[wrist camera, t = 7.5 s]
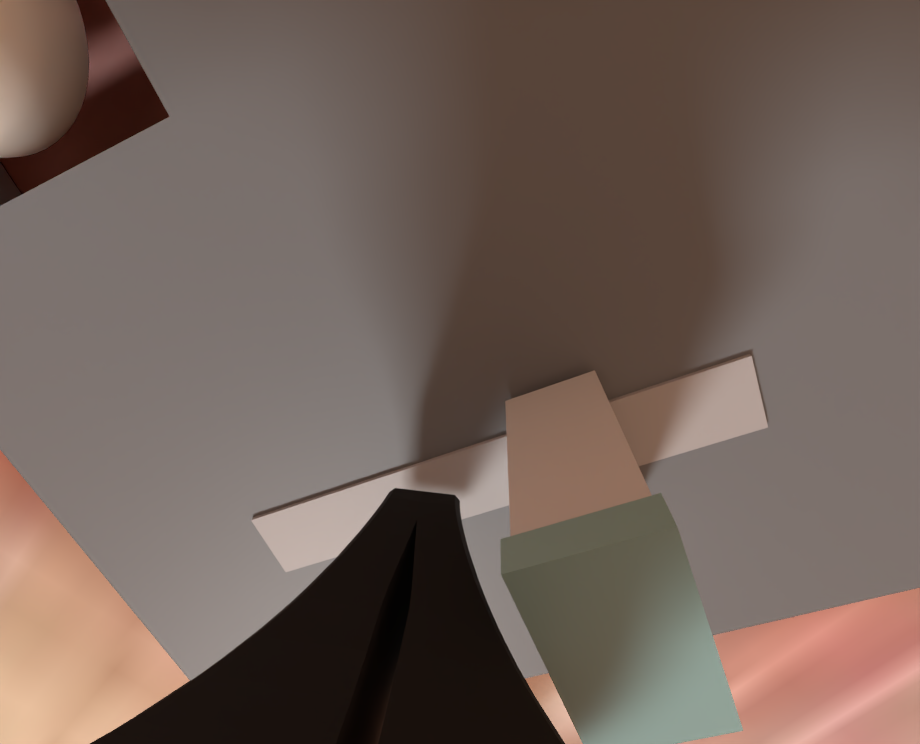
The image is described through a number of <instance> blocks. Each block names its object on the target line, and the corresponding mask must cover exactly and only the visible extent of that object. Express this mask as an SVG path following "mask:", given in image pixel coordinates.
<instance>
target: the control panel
mask: <svg viewBox="0 0 920 744" xmlns="http://www.w3.org/2000/svg"><path fill="white" fill-rule="evenodd" d="M105 1H106V2H107V4H108V6H109V8H110V10H111V11H112V13H113V15H114V17H115V19H116V20H117V22H118V24H119V26H120V28H121V30H122V31H123V33H124V35H125V37H126V39H127V40H128V42H129V44H130V46H131V48H132V49H133V51H134V53H135V55H136V57H137V59H138V60H139V62H140V64H141V66H142V68H143V69H144V71H145V73H146V75H147V77H148V78H149V80H150V82H151V84H152V86H153V88H154V89H155V91H156V93H157V95H158V97H159V98H160V100H161V102H162V104H163V106H164V107H165V109H166V111H167V113H168V115H169V117H168V118H166V119H164V120H162V121H160V122H158V123H156V124H155V125H153V126H151V127H149V128H147V129H145V130H143V131H141V132H139V133H137V134H136V135H134V136H132V137H130V138H128V139H126V140H124V141H122V142H120V143H119V144H117V145H115V146H113V147H111V148H109V149H107V150H105V151H103V152H101V153H100V154H98V155H96V156H94V157H92V158H90V159H88V160H86V161H84V162H82V163H81V164H79V165H77V166H75V167H73V168H71V169H69V170H67V171H65V172H64V173H62V174H60V175H58V176H56V177H54V178H52V179H50V180H48V181H46V182H45V183H43V184H41V185H39V186H37V187H35V188H33V189H31V190H29V191H27V192H26V193H24V194H21V193H20V191H19V190H18V188H17V187H16V185H15V184H14V182H13V181H12V179H11V178H10V176H9V175H8V173H7V172H6V170H5V169H4V167H3V166H2V164H1V163H0V450H1V451H2V452H3V454H4V455H5V456H6V457H7V458H8V460H9V461H10V462H11V463H12V465H13V466H14V467H15V468H16V469H17V471H18V472H19V473H20V474H21V475H22V477H23V478H24V479H25V480H26V482H27V483H28V484H29V485H30V486H31V488H32V489H33V490H34V491H35V492H36V494H37V495H38V496H39V497H40V499H41V500H42V501H43V502H44V503H45V505H46V506H47V507H48V508H49V510H50V511H51V512H52V513H53V514H54V516H55V517H56V518H57V519H58V520H59V522H60V523H61V524H62V525H63V527H64V528H65V529H66V530H67V531H68V533H69V534H70V535H71V536H72V538H73V539H74V540H75V541H76V542H77V544H78V545H79V546H80V547H81V548H82V550H83V551H84V552H85V553H86V555H87V556H88V557H89V558H90V559H91V561H92V562H93V563H94V564H95V566H96V567H97V568H98V569H99V570H100V572H101V573H102V574H103V575H104V576H105V578H106V579H107V580H108V581H109V583H110V584H111V585H112V586H113V587H114V589H115V590H116V591H117V592H118V593H119V595H120V596H121V597H122V598H123V600H124V601H125V602H126V603H127V604H128V606H129V607H130V608H131V609H132V611H133V612H134V613H135V614H136V615H137V617H138V618H139V619H140V620H141V621H142V623H143V624H144V625H145V626H146V628H147V629H148V630H149V631H150V632H151V634H152V635H153V636H154V637H155V639H156V640H157V641H158V642H159V643H160V645H161V646H162V647H163V648H164V649H165V651H166V652H167V653H168V654H169V656H170V657H171V658H172V659H173V660H174V662H175V663H176V664H177V665H178V667H179V668H180V669H181V670H182V671H183V673H184V674H185V675H186V676H187V677H188V679H189V680H190V681H191V680H192V679H194V678H195V677H197V676H198V675H199V674H201V673H202V672H204V671H205V670H207V669H208V668H209V667H211V666H212V665H213V664H215V663H216V662H218V661H219V660H220V659H222V658H223V657H224V656H226V655H227V654H228V653H229V652H231V651H232V650H233V649H235V648H236V647H237V646H239V645H240V644H241V643H242V642H244V641H245V640H246V639H248V638H249V637H250V636H251V635H253V634H254V633H255V632H257V631H258V630H259V629H260V628H262V627H263V626H264V625H265V624H266V623H267V622H269V621H270V620H271V619H272V618H273V617H275V616H276V615H277V614H278V613H279V612H280V611H282V610H283V609H284V608H285V607H286V606H287V605H288V604H289V603H291V602H292V601H293V600H294V599H295V598H296V597H297V596H298V595H299V594H300V593H301V592H302V591H304V590H305V589H306V588H307V587H308V586H309V585H310V584H311V583H312V582H313V581H314V580H315V579H316V578H317V577H318V576H319V575H320V574H321V573H322V572H323V571H324V570H325V569H326V568H327V567H328V566H329V565H330V564H331V563H332V562H333V561H334V560H335V558H336V557H337V556H338V555H339V554H340V553H341V552H342V551H343V550H344V548H345V547H346V546H347V545H348V544H349V543H350V542H351V541H352V539H353V538H354V537H355V536H356V535H357V534H358V533H359V531H360V530H361V529H362V528H363V527H364V525H365V524H366V523H367V522H368V520H369V519H370V518H371V517H372V515H373V514H374V513H375V512H376V510H377V509H378V508H379V506H380V505H381V503H382V502H383V501H384V499H385V498H386V496H387V495H388V493H389V492H390V491H392V490H393V489H394V488H400V489H409V490H417V491H426V492H434V493H443V494H452V495H455V496H456V497H457V498H458V499H459V500H460V513H461V520H462V525H463V530H464V534H465V538H466V542H467V546H468V549H469V552H470V556H471V559H472V562H473V565H474V568H475V571H476V574H477V577H478V579H479V582H480V585H481V587H482V590H483V593H484V595H485V598H486V600H487V602H488V605H489V607H490V610H491V612H492V614H493V617H494V619H495V621H496V623H497V625H498V628H499V630H500V632H501V634H502V636H503V638H504V640H505V642H506V644H507V646H508V648H509V650H510V652H511V654H512V656H513V658H514V660H515V662H516V664H517V666H518V667H519V669H520V671H521V673H522V675H523V676H524V678H529V677H533V676H538V675H542V674H546V673H548V671H547V669H546V666H545V664H544V662H543V660H542V658H541V656H540V654H539V652H538V650H537V648H536V646H535V644H534V642H533V640H532V638H531V636H530V634H529V631H528V629H527V627H526V625H525V623H524V621H523V619H522V617H521V615H520V613H519V611H518V609H517V607H516V605H515V603H514V601H513V598H512V596H511V594H510V592H509V590H508V588H507V586H506V584H505V582H504V580H503V578H502V576H501V545H500V539H502V538H506V537H509V536H511V535H510V509H509V483H508V458H507V432H506V406H505V401H507V400H509V399H512V398H515V397H518V396H521V395H524V394H527V393H530V392H533V391H536V390H539V389H542V388H544V387H547V386H550V385H553V384H556V383H559V382H562V381H565V380H568V379H571V378H574V377H577V376H579V375H582V374H585V373H588V372H591V371H594V370H595V372H596V374H597V376H598V379H599V381H600V383H601V385H602V387H603V390H604V392H605V394H606V396H607V398H608V401H609V403H610V405H611V407H612V409H613V411H614V414H615V416H616V418H617V420H618V422H619V425H620V427H621V429H622V431H623V433H624V436H625V438H626V440H627V442H628V444H629V447H630V449H631V451H632V453H633V455H634V458H635V460H636V462H637V464H638V466H639V469H640V471H641V473H642V475H643V477H644V480H645V482H646V484H647V486H648V488H649V491H650V493H651V495H655V494H659V493H661V494H662V496H663V498H664V500H665V502H666V504H667V506H668V508H669V510H670V512H671V514H672V517H673V519H674V521H675V523H676V525H677V527H678V530H679V533H680V536H681V539H682V543H683V546H684V549H685V552H686V555H687V558H688V561H689V564H690V567H691V570H692V574H693V577H694V580H695V583H696V586H697V589H698V592H699V595H700V598H701V601H702V605H703V608H704V611H705V614H706V617H707V620H708V623H709V626H710V629H711V632H712V635H716V634H720V633H725V632H729V631H733V630H738V629H742V628H746V627H751V626H755V625H759V624H764V623H768V622H772V621H777V620H781V619H785V618H790V617H794V616H798V615H803V614H807V613H811V612H816V611H820V610H825V609H829V608H833V607H838V606H842V605H846V604H851V603H855V602H859V601H864V600H868V599H872V598H877V597H881V596H885V595H890V594H894V593H898V592H903V591H907V590H911V589H916V588H920V0H105Z"/></svg>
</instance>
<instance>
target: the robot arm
mask: <svg viewBox="0 0 920 744" xmlns="http://www.w3.org/2000/svg"><path fill="white" fill-rule="evenodd" d="M90 744H565V743H564V741H563V740H562V738H561V737H560V735H559V734H558V732H557V730H556V729H555V727H554V726H553V724H552V723H551V721H550V719H549V718H548V716H547V715H546V713H545V712H544V710H543V708H542V707H541V705H540V704H539V702H538V701H537V699H536V697H535V696H534V694H533V692H532V691H531V689H530V687H529V685H528V683H527V682H526V680H525V678H524V676H523V675H522V673H521V671H520V669H519V667H518V666H517V664H516V662H515V660H514V658H513V656H512V654H511V652H510V650H509V648H508V646H507V644H506V642H505V640H504V638H503V636H502V634H501V632H500V630H499V628H498V625H497V623H496V621H495V619H494V617H493V614H492V612H491V610H490V607H489V605H488V602H487V600H486V598H485V595H484V593H483V590H482V587H481V585H480V582H479V579H478V577H477V574H476V571H475V568H474V565H473V562H472V559H471V556H470V552H469V549H468V546H467V542H466V538H465V534H464V530H463V525H462V520H461V513H460V500H459V499H458V498H457V497H456V496H455V495H452V494H443V493H434V492H426V491H417V490H409V489H400V488H394V489H393V490H392V491H390V492H389V493H388V495H387V496H386V498H385V499H384V501H383V502H382V503H381V505H380V506H379V508H378V509H377V510H376V512H375V513H374V514H373V515H372V517H371V518H370V519H369V520H368V522H367V523H366V524H365V525H364V527H363V528H362V529H361V530H360V531H359V533H358V534H357V535H356V536H355V537H354V538H353V539H352V541H351V542H350V543H349V544H348V545H347V546H346V547H345V548H344V550H343V551H342V552H341V553H340V554H339V555H338V556H337V557H336V558H335V560H334V561H333V562H332V563H331V564H330V565H329V566H328V567H327V568H326V569H325V570H324V571H323V572H322V573H321V574H320V575H319V576H318V577H317V578H316V579H315V580H314V581H313V582H312V583H311V584H310V585H309V586H308V587H307V588H306V589H305V590H304V591H302V592H301V593H300V594H299V595H298V596H297V597H296V598H295V599H294V600H293V601H292V602H291V603H289V604H288V605H287V606H286V607H285V608H284V609H283V610H282V611H280V612H279V613H278V614H277V615H276V616H275V617H273V618H272V619H271V620H270V621H269V622H267V623H266V624H265V625H264V626H263V627H262V628H260V629H259V630H258V631H257V632H255V633H254V634H253V635H251V636H250V637H249V638H248V639H246V640H245V641H244V642H242V643H241V644H240V645H239V646H237V647H236V648H235V649H233V650H232V651H231V652H229V653H228V654H227V655H226V656H224V657H223V658H222V659H220V660H219V661H218V662H216V663H215V664H213V665H212V666H211V667H209V668H208V669H207V670H205V671H204V672H202V673H201V674H199V675H198V676H197V677H195V678H194V679H192V680H191V681H189V682H188V683H186V684H185V685H183V686H181V687H180V688H178V689H177V690H175V691H174V692H172V693H171V694H169V695H168V696H166V697H165V698H163V699H162V700H160V701H159V702H157V703H156V704H154V705H153V706H151V707H149V708H148V709H146V710H145V711H143V712H142V713H140V714H139V715H137V716H136V717H134V718H133V719H131V720H129V721H128V722H126V723H124V724H123V725H121V726H120V727H118V728H116V729H115V730H113V731H111V732H110V733H108V734H106V735H104V736H103V737H101V738H99V739H97V740H95V741H94V742H92V743H90Z"/></svg>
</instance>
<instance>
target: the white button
mask: <svg viewBox="0 0 920 744" xmlns="http://www.w3.org/2000/svg"><path fill="white" fill-rule="evenodd" d="M88 74H89V54H88V43H87V37H86V31H85V26H84V23H83V19H82V16H81V12H80V8H79V6H78V3H77V1H76V0H0V158H13V157H23V156H27V155H32V154H35V153H38V152H40V151H42V150H45V149H47V148H48V147H50V146H51V145H53V144H54V143H56V142H57V141H58V140H59V139H60V138H61V137H62V136H63V135H64V134H66V133H67V131H68V130H69V128H70V127H71V126H72V124H73V123H74V122H75V120H76V118H77V116H78V114H79V112H80V110H81V107H82V104H83V101H84V98H85V95H86V89H87V84H88Z"/></svg>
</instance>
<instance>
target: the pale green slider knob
mask: <svg viewBox="0 0 920 744" xmlns="http://www.w3.org/2000/svg"><path fill="white" fill-rule="evenodd" d="M505 406H506V432H507V458H508V483H509V509H510V535H511V536H509V537H506V538H502V539H500V545H501V576H502V578H503V580H504V582H505V584H506V586H507V588H508V590H509V592H510V594H511V596H512V598H513V601H514V603H515V605H516V607H517V609H518V611H519V613H520V615H521V617H522V619H523V621H524V623H525V625H526V627H527V629H528V631H529V634H530V636H531V638H532V640H533V642H534V644H535V646H536V648H537V650H538V652H539V654H540V656H541V658H542V660H543V662H544V664H545V666H546V669H547V671H548V673H549V675H550V677H551V679H552V681H553V683H554V685H555V687H556V689H557V691H558V693H559V695H560V697H561V699H562V702H563V704H564V706H565V708H566V710H567V712H568V714H569V716H570V718H571V720H572V722H573V724H574V726H575V728H576V730H577V732H578V734H579V737H580V739H581V741H582V743H583V744H677V743H682V742H687V741H692V740H698V739H703V738H708V737H713V736H718V735H723V734H729V733H734V732H739V731H743V728H742V725H741V722H740V719H739V716H738V713H737V710H736V707H735V704H734V700H733V697H732V694H731V691H730V688H729V685H728V682H727V679H726V676H725V673H724V670H723V666H722V663H721V660H720V657H719V654H718V651H717V648H716V645H715V642H714V639H713V635H712V632H711V629H710V626H709V623H708V620H707V617H706V614H705V611H704V608H703V605H702V601H701V598H700V595H699V592H698V589H697V586H696V583H695V580H694V577H693V574H692V570H691V567H690V564H689V561H688V558H687V555H686V552H685V549H684V546H683V543H682V539H681V536H680V533H679V530H678V527H677V525H676V523H675V521H674V519H673V517H672V514H671V512H670V510H669V508H668V506H667V504H666V502H665V500H664V498H663V496H662V494H661V493H659V494H655V495H651V493H650V491H649V488H648V486H647V484H646V482H645V480H644V477H643V475H642V473H641V471H640V469H639V466H638V464H637V462H636V460H635V458H634V455H633V453H632V451H631V449H630V447H629V444H628V442H627V440H626V438H625V436H624V433H623V431H622V429H621V427H620V425H619V422H618V420H617V418H616V416H615V414H614V411H613V409H612V407H611V405H610V403H609V401H608V398H607V396H606V394H605V392H604V390H603V387H602V385H601V383H600V381H599V379H598V376H597V374H596V372H595V370H594V371H591V372H588V373H585V374H582V375H579V376H577V377H574V378H571V379H568V380H565V381H562V382H559V383H556V384H553V385H550V386H547V387H544V388H542V389H539V390H536V391H533V392H530V393H527V394H524V395H521V396H518V397H515V398H512V399H509V400H507V401H505Z"/></svg>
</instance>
